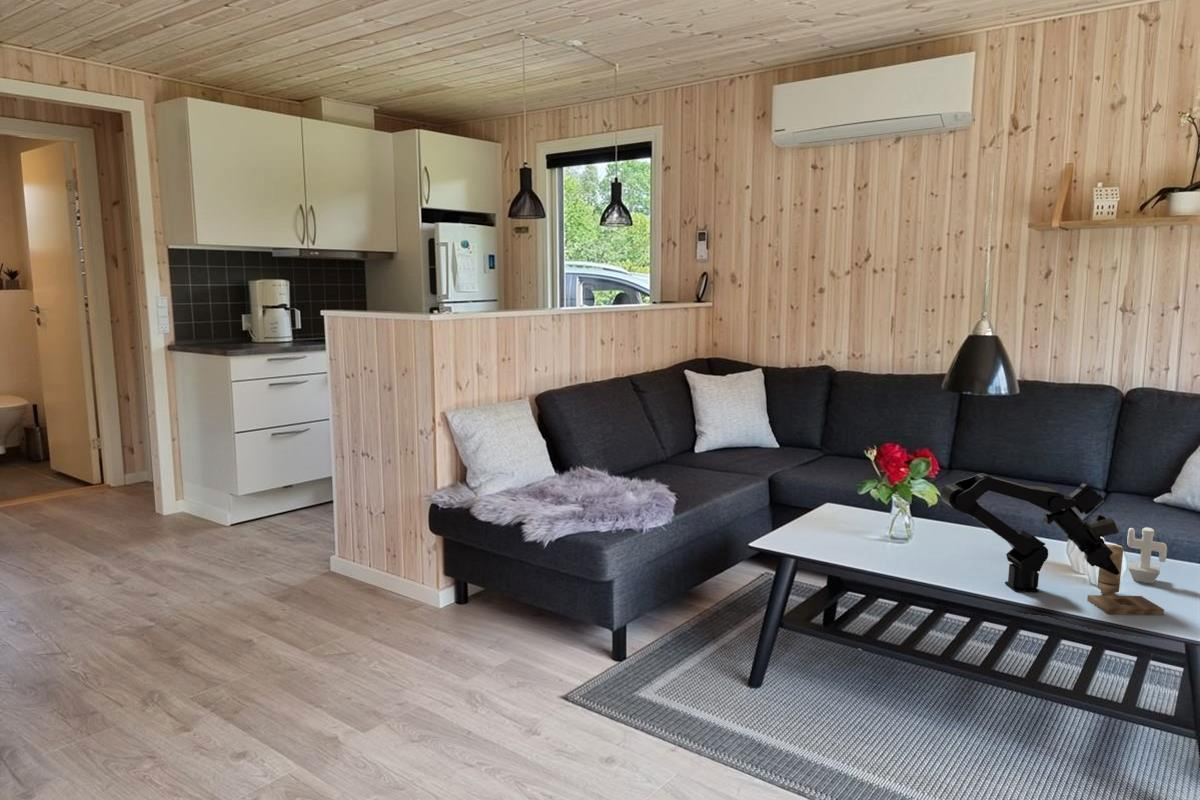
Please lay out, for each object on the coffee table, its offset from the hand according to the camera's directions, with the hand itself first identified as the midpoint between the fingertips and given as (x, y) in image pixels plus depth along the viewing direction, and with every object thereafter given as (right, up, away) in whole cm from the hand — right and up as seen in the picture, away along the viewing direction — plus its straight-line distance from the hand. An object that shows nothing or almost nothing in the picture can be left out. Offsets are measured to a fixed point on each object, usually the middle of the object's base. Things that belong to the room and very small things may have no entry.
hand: (1116, 570), depth 218 cm
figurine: (+16, -6, +13) cm, 21 cm away
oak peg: (-1, -7, +1) cm, 7 cm away
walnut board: (-3, -8, -7) cm, 11 cm away
